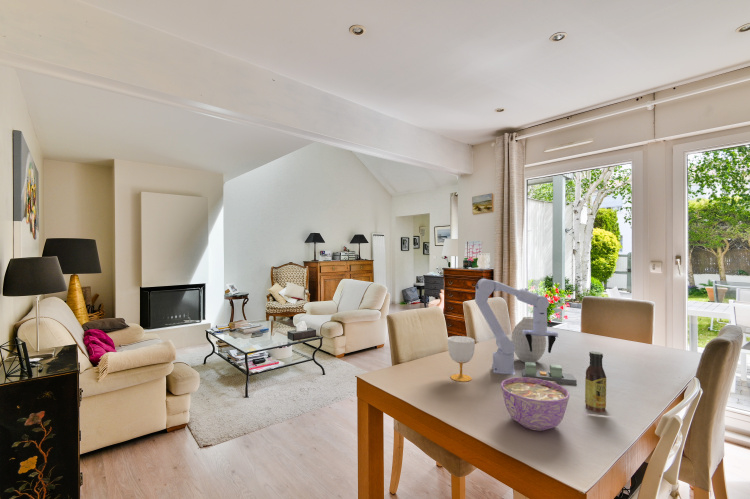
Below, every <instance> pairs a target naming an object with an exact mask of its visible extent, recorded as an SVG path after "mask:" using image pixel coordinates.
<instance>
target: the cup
mask: <svg viewBox="0 0 750 499" xmlns="http://www.w3.org/2000/svg"><path fill="white" fill-rule="evenodd" d="M475 343H476V340H475V339H474V338H473V337H470V336H465V335H462V336H461V335H459V336H458V335H452V336H449V337H447V348H448V350H447V351H448V353H449V354H448V355H449V357H450V358H451V359H452V361H454V362H455V363H458V364H459V373H456V374H452V375H450V379H451V380H453V381H456V382H460V383H461V382H462V383H465V382H471V381H472V380H473V378H472V377H471V376H470V375H467V374H464V373H463V365H464V364H467V363H469V362H470V361H471V360H472V359H473V357H474V353H475V346H476V344H475Z"/></svg>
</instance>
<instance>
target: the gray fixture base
mask: <svg viewBox="0 0 750 499" xmlns="http://www.w3.org/2000/svg"><path fill="white" fill-rule="evenodd" d="M524 367H525V368H524V369H522V371H521V374H522V377H526V378H536V379H541V380H546V381H555V382H556V383H557V384H562V385H571V386H572V385H574V386H577V385H578V384H577V379H576V377H575V376H574V375H573V374H572V373H564V372H562V378H558V377H550V371H544V370H543V371H542V370H537V364H536V363H532V362H525V363H524Z"/></svg>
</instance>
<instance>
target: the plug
mask: <svg viewBox="0 0 750 499" xmlns="http://www.w3.org/2000/svg"><path fill="white" fill-rule="evenodd" d="M549 372H550V377H558V378H562V373H563V367H562V366H561V365H560V364H549Z"/></svg>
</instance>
